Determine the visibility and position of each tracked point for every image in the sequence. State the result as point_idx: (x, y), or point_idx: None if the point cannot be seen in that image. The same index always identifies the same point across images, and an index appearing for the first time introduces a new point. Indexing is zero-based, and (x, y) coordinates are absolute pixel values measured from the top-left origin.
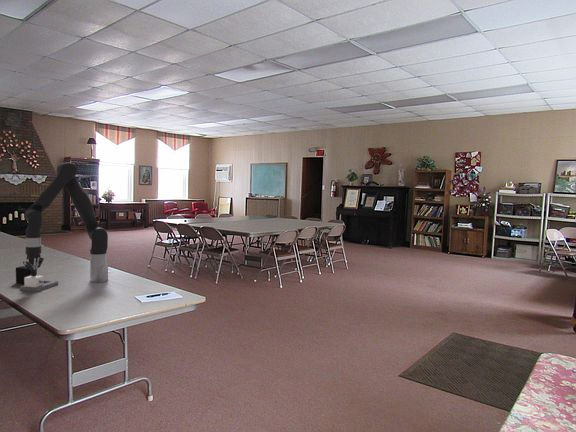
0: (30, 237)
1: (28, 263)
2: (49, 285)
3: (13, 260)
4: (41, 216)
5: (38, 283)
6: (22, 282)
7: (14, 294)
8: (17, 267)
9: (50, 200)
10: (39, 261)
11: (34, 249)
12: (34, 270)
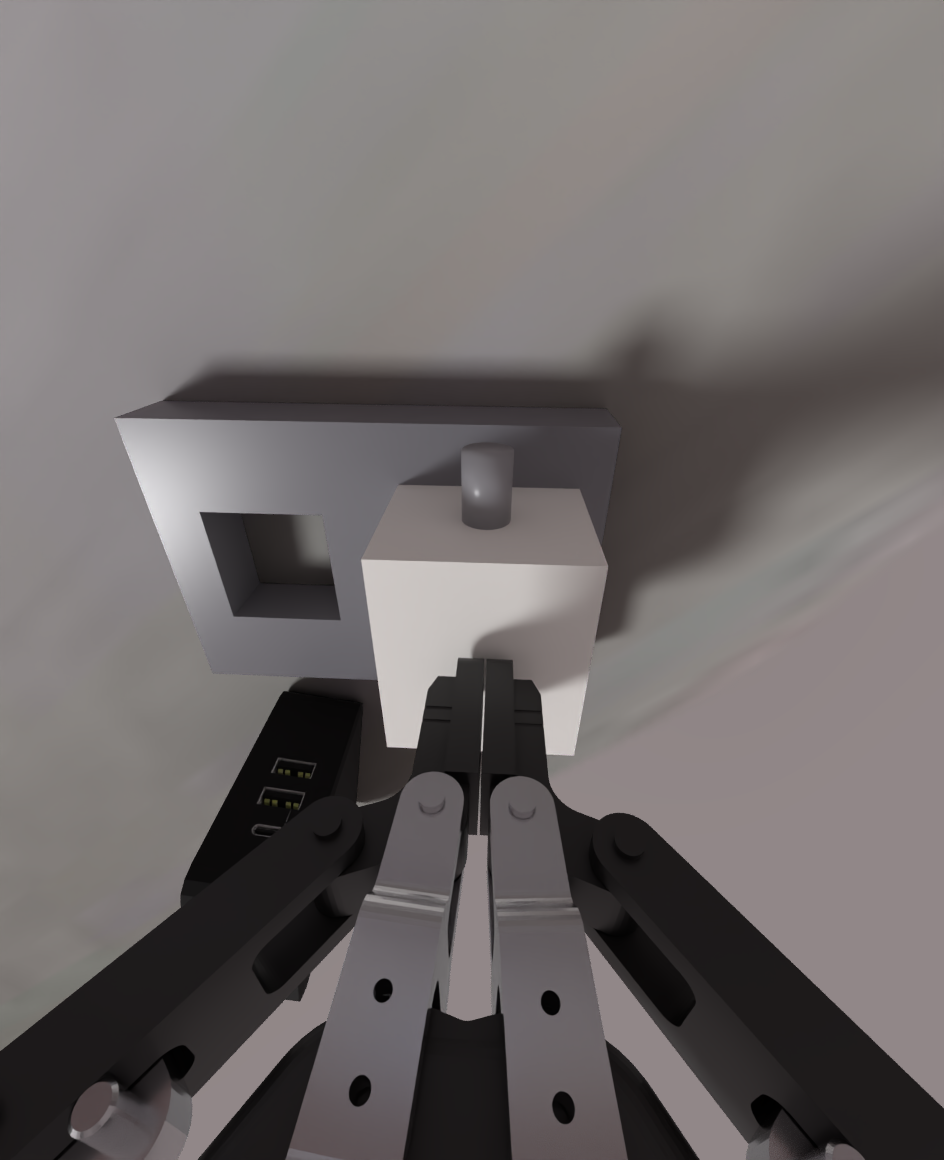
0: None
1: (906, 1142)
2: (339, 416)
3: None
4: None
5: (519, 506)
6: (354, 775)
7: (720, 611)
8: (299, 996)
9: None
10: (193, 1034)
11: None
12: (512, 765)
